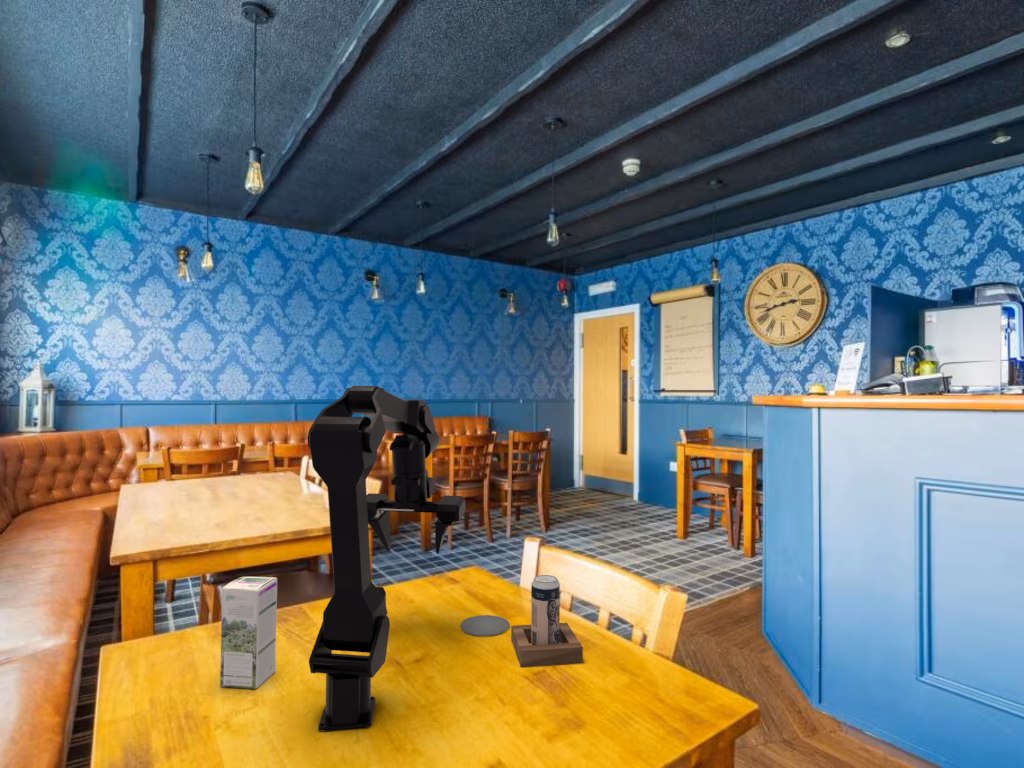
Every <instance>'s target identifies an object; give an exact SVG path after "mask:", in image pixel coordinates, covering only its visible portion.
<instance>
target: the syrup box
mask: <svg viewBox="0 0 1024 768" xmlns="http://www.w3.org/2000/svg"><path fill="white" fill-rule="evenodd" d="M277 603H278V578H277V577H273V576H269V577H268V576H245V575H244V576H241V577H238V578H236V579H233V580H232V581H230V582H229V583H227V584H225V585H224V586H223V587H222V589H221V623H220V624H221V626H220V628H221V629H220V631H221V632H220V633H221V634H220V673H219V674H220V675H219V677H220V678H219V681H220V683H219V687H221V688H233V689H235V688H237V689H251V690H254V689H255V690H256V689H258V688H259V687H260V686H261V685H263V684H264V682H266V681H267V680H268V679H269V678H270V677H271V676H272V675H273V674H274V673H276V670H277V668H276V665H277V663H276V661H277V659H276V657H277V655H276V651H277V650H276V648H277V645H276V643H277V605H278V604H277Z"/></svg>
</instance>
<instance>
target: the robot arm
mask: <svg viewBox="0 0 1024 768" xmlns="http://www.w3.org/2000/svg"><path fill="white" fill-rule="evenodd" d="M357 414H358V415H361V416H353V415H357ZM371 419H372V420H371ZM436 428H437V427H436V425H435V421H434V418H433V415H432V412H431V408H430V406H429V405H427V402H426V401H425V399H409V398H407V399H403V398H401V397H399V396H397V395H394V394H393V393H390V392H388V391H386V390H385V388H384V387H380V386H379V385H352V386H351V387H347V388H346V389H345V391H344V393H343V394H342V395H341V396H340V398H338V399H337V400H335V401H333V402H332V403H330V404H328V405H326V407H324V408H323V409H321V410H320V412H319V414H317V416H316V418H315V420H314V422H312V424H311V426H310V428H309V430H308V432H307V441H306V442H307V446H308V448H309V451H310V453H309V454H310V457H311V463H312V468H313V470H314V471H315V473H316V474H317V475H318V477H319V479H320V480H321V481H322V482H323V483H324V484H325V486H326V489H327V499H328V500H327V501H328V513H329V514H328V515H329V528H330V530H329V531H330V532H329V533H330V544H331V545H330V546H331V561H332V574H333V590H334V591H333V594H332V596H331V598H330V600H329V602H328V603H327V605H326V607H325V609H324V611H323V613H322V623H321V625H320V628H319V631H318V634H317V637H316V639H315V642H314V645H313V648H312V650H311V653H310V656H309V658H308V665H309V670H310V674H324V675H325V705H324V708H323V710H322V714H321V717H320V719H319V722H318V726H317V727H318V728H317V729H318V730H319V731H331V730H334V731H335V730H343V729H344V730H345V729H354V728H356V729H357V728H367V727H368V728H369V727H370V726H372V723H373V717H374V712H375V705H376V697H375V696H371V695H372V694H371V691H372V689H371V688H372V679H373V678H374V677H375V676H376V675H377V673H378V672H379V670H380V669H381V668H382V667H383V666H384V664H385V663H386V657H387V650H388V642H389V634H390V618H389V616H388V609H387V592H386V589H385V588H384V587H383V586H376V585H374V582H372V569H371V550H370V535H369V531H370V530H369V527H371V528H372V530H373V531H374V533H375V534H376V536H378V540H380V542H381V543H382V546H383V547H384V549H385V550H386V552H387V553H390V552H391V550H392V537H391V536H392V535H391V528H390V513H391V512H401V513H427V514H428V513H432V514H435V515H436V518H437V520H436V521H435V523H434V524H435V525H434V530H435V531H434V532H435V533H434V534H435V535H434V536H435V538H434V539H435V541H434V542H435V546H434V547H435V554H437V555H439V554H440V552H441V549H442V546H443V543H444V540H445V539H444V538H445V536H446V532H447V529H448V527H451V526H453V524H454V523H457V522H459V521H460V520H461V518H462V517H463V515H464V513H465V511H466V500H465V499H464V496H462V495H445V494H443V496H442V497H441V498H440V500H439V501H429V500H428V499H431V497H432V495H435V488H436V486H435V485H436V477H432V476H431V477H430V476H429V472H428V469H426V459H427V458H429V456H431V454H432V453H433V452H435V450H436V449H437V448H438V446H439V443H440V436H439V434H438V432H437V430H436ZM386 432H390V433H391V434H398V435H395V437H394V439H393V441H392V442H391V443H390V445H389V451H390V452H391V457H392V459H391V460H392V474H393V475H392V476H393V477H392V478H391V480H390V482H391V486H393V491H394V492H393V494H394V496H393V497H394V500H393V499H392V500H390V499H389V496H388V494H387V493H375V492H373V493H369V492H368V493H367V478H368V476H369V475H370V473H371V471H372V469H373V468H374V466H375V464H376V462H377V460H378V449H379V448H380V445H381V444H382V441H383V439H384V437H385V434H386ZM401 434H402V435H401ZM333 651H337V652H339V651H341V652H351V653H352V652H353V653H354V652H355V653H367V654H368V653H369V655H363V654H362V655H361V654H348V653H347V654H346V653H334V652H333Z"/></svg>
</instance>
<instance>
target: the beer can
mask: <svg viewBox="0 0 1024 768" xmlns="http://www.w3.org/2000/svg"><path fill="white" fill-rule="evenodd" d="M560 586H561V583H560V581H559V580H558V577H556V576H554V575H550V574H539V575H536V576H534V578H533V579H532V582H531V588H530V590H531V595H530V596H531V598H530V599H531V600H530V602H531V603H530V604H531V606H530V607H531V611H530V612H531V613H530V616H531V617H530V618H531V619H530V620H531V621H530V622H531V624H530V625H531V643H530V645H545V644H561V643H560V623H561V621H560V620H561V619H560V615H561V614H560V610H561V609H560V606H561V605H560V603H561V602H560V601H561V600H560V599H561V598H560V597H561V595H560V593H561V591H560V590H561V587H560Z"/></svg>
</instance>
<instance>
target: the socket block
mask: <svg viewBox="0 0 1024 768" xmlns="http://www.w3.org/2000/svg"><path fill="white" fill-rule="evenodd" d="M510 631H511V632H510V633H511V634H510V635H511V636H510V637H511V638H510V641H511V644H512V646H513V650H514V653H515V654H516V657H517V661H518V663H519V665H520V668H527V667H528V668H529V667H542V666H556V665H557V666H559V665H571V664H574V665H575V664H583V663H584V662H583V661H584V658H583V657H584V653H583V651H584V649H583V645H582V644H581V642H580V640H579V639H578V638H577V636H576V634H575V632H574V631H573V630H572V628H571V627H570V625H569V624H568V622H560V644H545V645H531V624H520V625H519V624H518V625H517V624H516V625H511V629H510Z"/></svg>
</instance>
